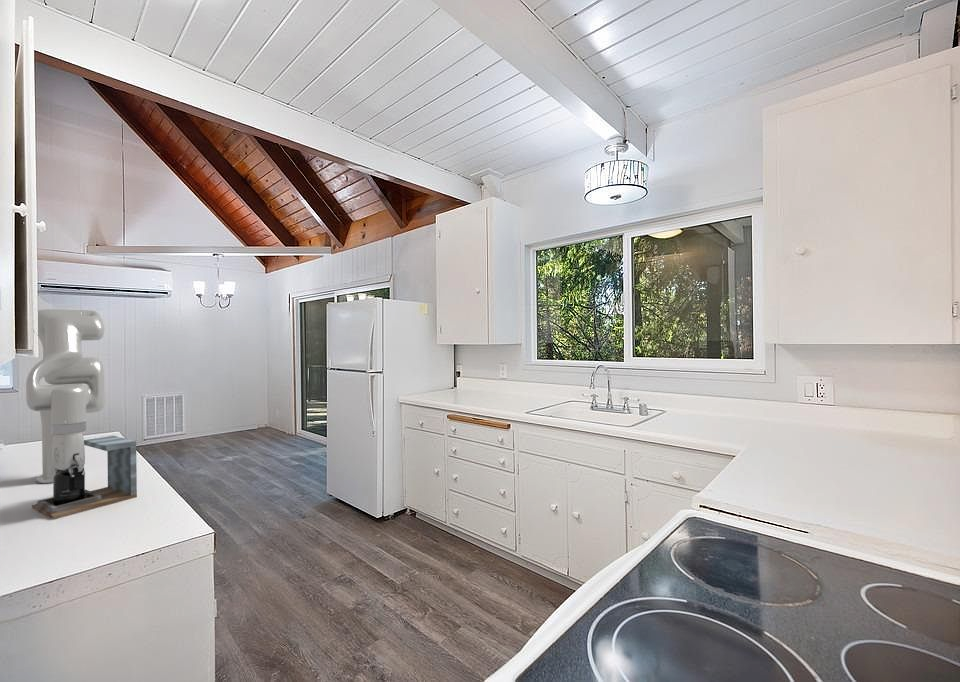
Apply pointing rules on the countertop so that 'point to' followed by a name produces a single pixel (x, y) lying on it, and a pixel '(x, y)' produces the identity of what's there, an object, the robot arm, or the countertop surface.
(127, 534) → the countertop surface
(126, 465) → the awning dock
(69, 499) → the supplement bottle
